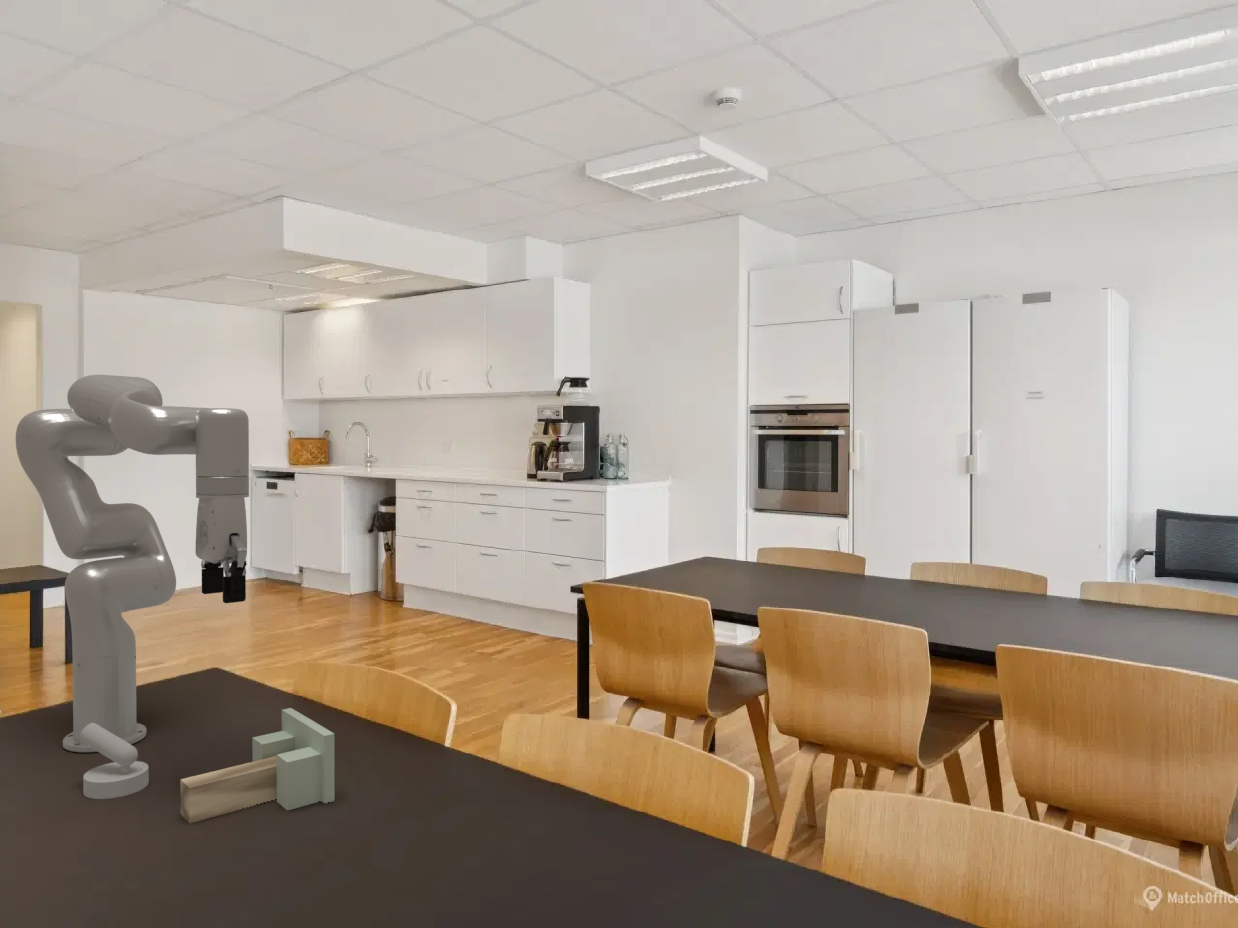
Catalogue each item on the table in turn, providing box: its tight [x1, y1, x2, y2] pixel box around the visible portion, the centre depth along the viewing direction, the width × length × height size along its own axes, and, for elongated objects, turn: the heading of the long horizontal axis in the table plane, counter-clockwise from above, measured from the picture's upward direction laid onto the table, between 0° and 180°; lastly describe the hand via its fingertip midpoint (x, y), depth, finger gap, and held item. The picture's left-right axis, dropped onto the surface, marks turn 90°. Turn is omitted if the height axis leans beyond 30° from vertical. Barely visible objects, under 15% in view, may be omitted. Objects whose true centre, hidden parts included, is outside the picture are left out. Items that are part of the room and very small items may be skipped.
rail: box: [180, 756, 277, 824], centre depth 128 cm, size 4×16×5 cm, turn 133°
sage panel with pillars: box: [251, 707, 336, 812], centre depth 132 cm, size 16×6×10 cm, turn 43°
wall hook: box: [79, 723, 150, 800], centre depth 133 cm, size 9×10×10 cm
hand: (223, 597), depth 137 cm, fingers open, 9 cm apart
